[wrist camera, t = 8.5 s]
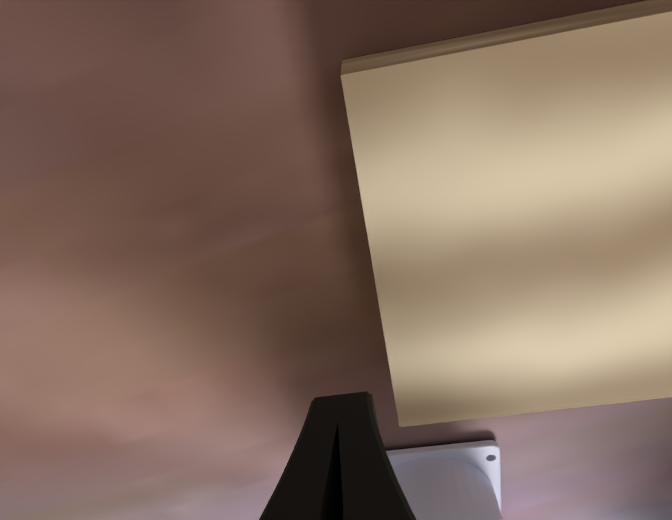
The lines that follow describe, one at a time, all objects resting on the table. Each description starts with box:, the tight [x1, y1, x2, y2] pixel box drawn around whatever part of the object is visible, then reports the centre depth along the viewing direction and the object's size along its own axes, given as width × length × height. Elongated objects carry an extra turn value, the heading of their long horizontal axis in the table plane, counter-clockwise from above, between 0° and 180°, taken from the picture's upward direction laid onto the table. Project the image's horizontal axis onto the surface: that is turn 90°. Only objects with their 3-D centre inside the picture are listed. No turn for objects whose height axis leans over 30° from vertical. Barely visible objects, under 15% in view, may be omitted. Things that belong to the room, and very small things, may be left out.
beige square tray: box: [341, 0, 672, 427], centre depth 17 cm, size 14×14×4 cm
